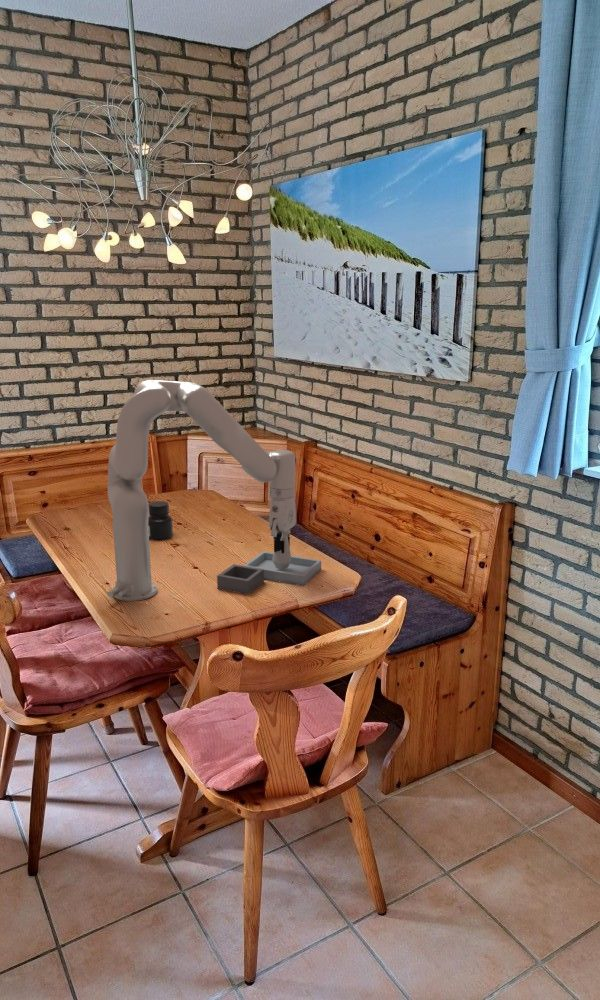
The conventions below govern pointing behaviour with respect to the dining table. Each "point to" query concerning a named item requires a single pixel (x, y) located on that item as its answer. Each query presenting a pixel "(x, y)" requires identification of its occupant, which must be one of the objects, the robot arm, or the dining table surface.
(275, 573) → the tray
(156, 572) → the dining table surface
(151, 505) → the ink bottle
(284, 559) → the salt shaker
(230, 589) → the holder
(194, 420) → the robot arm
